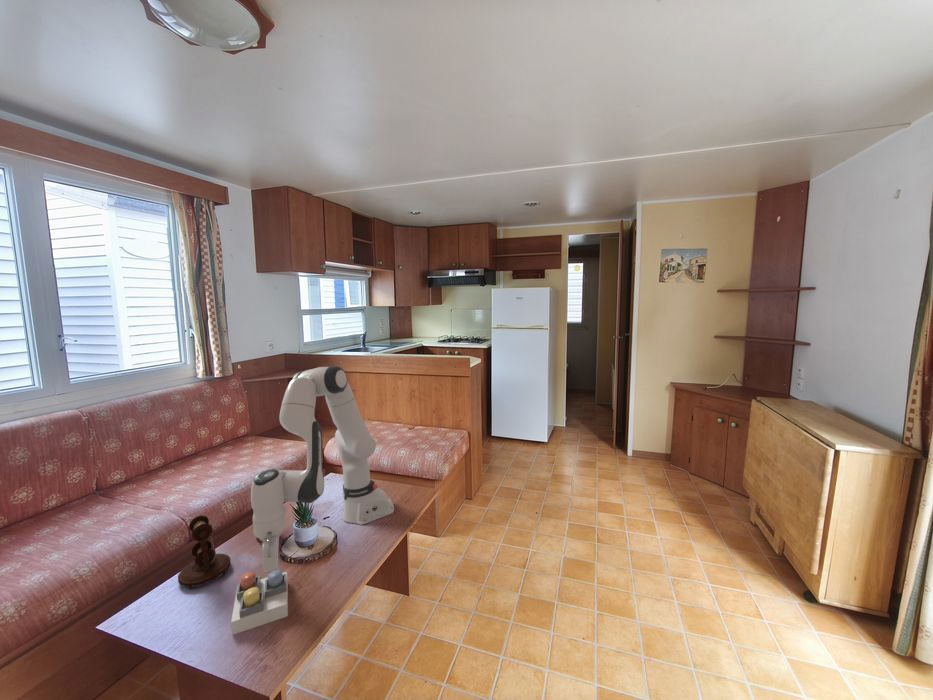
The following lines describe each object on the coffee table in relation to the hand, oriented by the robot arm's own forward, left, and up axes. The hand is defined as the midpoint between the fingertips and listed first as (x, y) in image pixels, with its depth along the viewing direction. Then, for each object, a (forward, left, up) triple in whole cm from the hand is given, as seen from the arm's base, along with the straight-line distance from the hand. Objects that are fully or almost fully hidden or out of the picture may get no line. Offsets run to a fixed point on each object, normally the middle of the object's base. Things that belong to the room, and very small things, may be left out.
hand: (273, 566), depth 114 cm
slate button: (0, 0, -6) cm, 6 cm away
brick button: (+7, -3, -6) cm, 10 cm away
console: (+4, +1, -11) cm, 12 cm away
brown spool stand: (+22, -24, -12) cm, 35 cm away
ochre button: (+6, +5, -6) cm, 10 cm away
